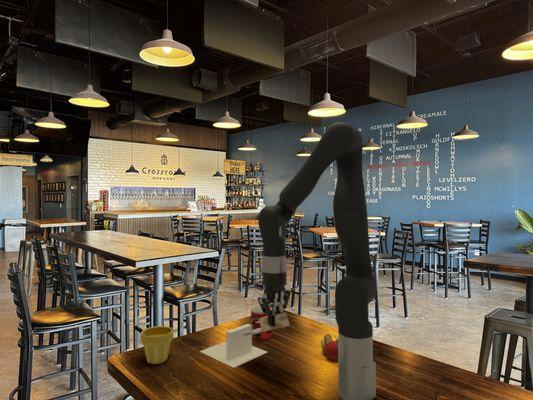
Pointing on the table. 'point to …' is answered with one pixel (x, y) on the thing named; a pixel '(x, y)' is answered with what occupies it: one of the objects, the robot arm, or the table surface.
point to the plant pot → (157, 343)
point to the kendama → (330, 347)
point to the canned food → (258, 323)
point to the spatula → (280, 322)
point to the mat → (220, 355)
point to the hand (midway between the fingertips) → (275, 324)
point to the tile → (238, 341)
